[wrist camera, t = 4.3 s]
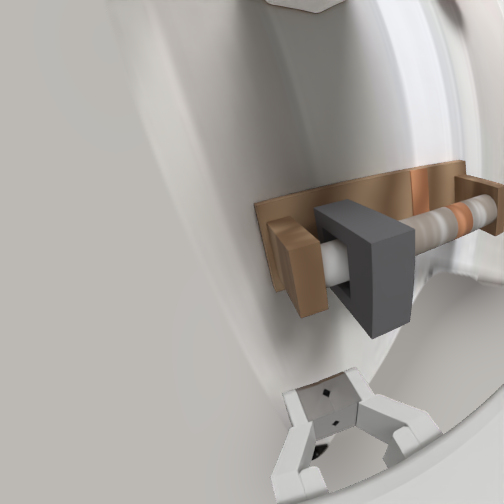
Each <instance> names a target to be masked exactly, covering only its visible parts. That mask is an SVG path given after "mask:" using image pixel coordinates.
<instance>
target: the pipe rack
mask: <svg viewBox="0 0 504 504" xmlns="http://www.w3.org/2000/svg"><path fill="white" fill-rule="evenodd" d="M346 199H349V200H352V201H354V202H356V203H359V204H361V205H363V206H366V207H368V208H370V209H373V210H375V211H377V212H380V213H382V214H384V215H386V216H388V217H391V218H393V219H395V220H397V221H399V222H401V223H404V224H406V225H408V226H410V227H412V228H414V229H415V256H416V255H419V254H421V253H424V252H426V251H429V250H431V249H434V248H436V247H438V246H441V245H443V244H446V243H448V242H450V241H453V240H455V239H457V238H459V237H462V236H464V235H466V234H469V233H471V232H473V231H475V230H477V229H481V230H483V231H485V232H487V233H489V234H491V235H494V236H497V235H499V234H501V233H502V232H504V185H503V184H500V183H496V182H493V181H489V180H485V179H481V178H478V177H474V176H470V175H466V164H465V161H462V160H456V161H449V162H443V163H437V164H431V165H425V166H420V167H414V168H408V169H403V170H398V171H393V172H387V173H382V174H377V175H372V176H368V177H363V178H358V179H353V180H349V181H344V182H340V183H335V184H331V185H326V186H322V187H318V188H313V189H309V190H305V191H301V192H297V193H293V194H289V195H285V196H281V197H277V198H273V199H269V200H265V201H261V202H257V203H254V207H255V211H256V215H257V219H258V223H259V227H260V231H261V236H262V240H263V244H264V248H265V252H266V257H267V261H268V265H269V269H270V273H271V278H272V282H273V286H274V289H275V291H276V292H279V291H282V290H286V291H287V293H288V295H289V297H290V299H291V301H292V303H293V304H294V306H295V308H296V310H297V312H298V314H299V316H300V317H301V318H303V317H306V316H310V315H313V314H316V313H319V312H321V311H324V310H327V309H328V300H327V291H326V288H328V287H331V286H334V285H337V284H340V283H343V282H346V281H349V280H350V278H349V265H348V254H347V245H345V244H344V243H343V242H341V241H340V240H339V239H336V240H332V241H329V242H326V243H322V244H320V241H319V239H318V233H317V226H316V220H315V214H314V209H313V208H314V207H318V206H322V205H326V204H330V203H334V202H338V201H342V200H346Z"/></svg>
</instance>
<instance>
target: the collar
mask: <svg viewBox="0 0 504 504" xmlns="http://www.w3.org/2000/svg"><path fill="white" fill-rule="evenodd" d="M313 209H314V214H315V220H316V226H317V233H318V239H319V241H320V244H322V243H326V242H329V241H332V240H336V239H339V240H340V241H341V242H343V243H344V244H345V245H347V254H348V265H349V278H350V280H349V281H346V282H343V283H340V284H337V285H334V286H331V287H330V288H331V289H332V291H333V292H334V293H335V294H336V295H337V297H338V298H339V299H340V300H341V302H342V303H343V304H344V305H345V306H346V308H347V309H348V310H349V311H350V313H351V314H352V315H353V316H354V318H355V319H356V320H357V321H358V323H359V324H360V325H361V326H362V328H363V329H364V330H365V331H366V333H367V334H368V335H369V336H370V338H371V339H374V338H376V337H378V336H381V335H383V334H385V333H387V332H389V331H392V330H394V329H396V328H398V327H400V326H402V325H404V324H406V323H408V322H410V316H411V308H412V298H413V286H414V270H415V229H414V228H412V227H410V226H408V225H406V224H404V223H401V222H399V221H397V220H395V219H393V218H391V217H388V216H386V215H384V214H382V213H380V212H377V211H375V210H373V209H370V208H368V207H366V206H363V205H361V204H359V203H356V202H354V201H352V200H349V199H346V200H342V201H338V202H334V203H330V204H326V205H322V206H318V207H314V208H313Z"/></svg>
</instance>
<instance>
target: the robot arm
mask: <svg viewBox="0 0 504 504" xmlns="http://www.w3.org/2000/svg"><path fill="white" fill-rule="evenodd" d="M282 395H283V398H284V402H285V405H286V409H287V412H288V416H289V419H290V422H291V425H292V427H291V428H290V429H289V431H288V434H287V437H286V440H285V442H284V445H283V447H282V450H281V453H280V455H279V458H278V460H277V463H276V465H275V468H274V470H273V472H272V475H271V481H272V486H273V489H274V494H275V497H276V501H277V504H504V384H503V385H502V386H501V387H500V388H499V389H498V390H497V391H496V392H495V393H494V394H493V395H492V396H490V397H489V398H488V399H487V400H486V401H485V402H484V403H483V404H482V405H481V406H479V407H478V408H477V409H476V410H475V411H474V412H472V413H471V414H470V415H469V416H467V417H466V418H465V419H464V420H462V422H460V423H459V424H457V425H456V426H455V427H454V428H452V429H451V430H449V431H448V432H447V433H445V434H444V435H443V433H442V432H441V430H440V429H439V428H438V426H437V425H436V424H435V422H434V421H433V419H432V418H431V417H430V415H429V414H428V413H427V412H426V411H423V410H420V409H418V408H415V407H412V406H409V405H407V404H404V403H401V402H399V401H396V400H394V399H391V398H388V397H386V396H383V395H381V394H376V395H375V394H374V393H373V392H372V390H371V388H370V387H369V385H368V384H367V382H366V381H365V379H364V378H363V376H362V375H361V373H360V372H359V370H358V369H357V368H356V367H353V368H351V369H348V370H346V371H344V372H340V373H338V374H335V375H333V376H330V377H328V378H325V379H323V380H320V381H319V382H316V383H313V384H310V385H307V386H303V387H300V388H297V389H294V390H290V391H287V392H284V393H282ZM354 426H356V427H358V428H360V429H361V430H363V431H365V432H366V433H368V434H370V435H372V436H374V437H375V438H377V439H379V440H381V441H383V442H385V443H387V444H388V448H387V450H386V453H385V455H384V457H383V460H384V462H385V463H386V465H387V467H388V469H386V470H384V471H382V472H380V473H378V474H375V475H373V476H371V477H369V478H367V479H365V480H362V481H360V482H358V483H355V484H353V485H350V486H348V487H346V488H343V489H340V490H338V491H335V492H332V493H329V492H328V489H327V487H326V484H325V482H324V479H323V477H322V474H321V472H320V469H319V468H318V467H314V466H312V467H309V466H310V463H311V459H312V456H313V452H314V448H315V444H316V441H318V440H320V439H323V438H325V437H328V436H330V435H333V434H335V433H338V432H341V431H343V430H346V429H348V428H351V427H354Z"/></svg>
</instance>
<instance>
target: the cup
mask: <svg viewBox="0 0 504 504" xmlns="http://www.w3.org/2000/svg"><path fill="white" fill-rule="evenodd" d="M265 1H266V2H268V3H269V4H272V5H278V6H284V7H290V8H295V9H300V10H305V11H309V12H314V13H319V12H321V11H323V10H326V9H328V8H330V7H332V6H334V5H336V4H338V3H340V2H343V1H345V0H265Z"/></svg>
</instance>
